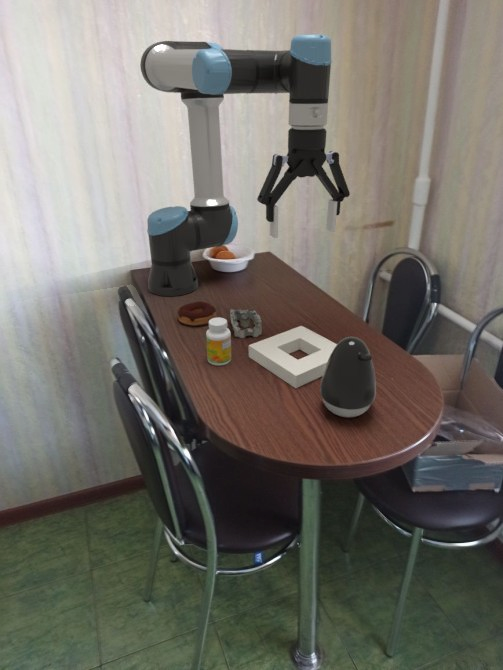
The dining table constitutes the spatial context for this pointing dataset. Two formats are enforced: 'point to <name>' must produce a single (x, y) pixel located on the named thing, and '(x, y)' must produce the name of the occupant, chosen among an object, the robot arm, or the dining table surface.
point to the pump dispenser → (349, 379)
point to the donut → (196, 313)
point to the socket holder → (285, 366)
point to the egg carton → (245, 323)
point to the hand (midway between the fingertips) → (302, 233)
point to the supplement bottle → (218, 342)
